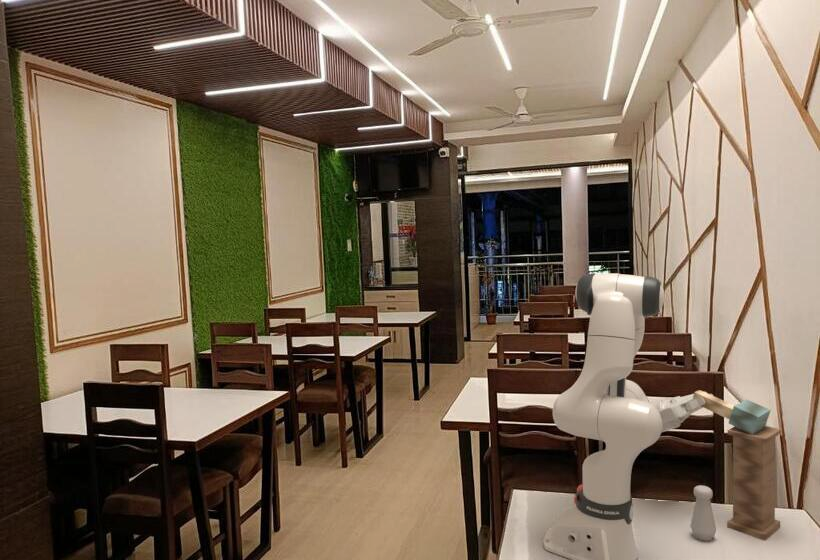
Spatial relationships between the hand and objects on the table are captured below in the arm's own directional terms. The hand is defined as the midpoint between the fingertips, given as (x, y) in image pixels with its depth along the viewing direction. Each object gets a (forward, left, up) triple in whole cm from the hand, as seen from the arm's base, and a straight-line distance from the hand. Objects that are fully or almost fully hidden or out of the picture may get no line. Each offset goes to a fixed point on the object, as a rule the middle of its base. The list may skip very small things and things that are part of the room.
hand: (708, 398), depth 158 cm
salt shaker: (0, -15, -32) cm, 35 cm away
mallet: (+4, -1, -4) cm, 6 cm away
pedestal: (+11, -4, -32) cm, 34 cm away
